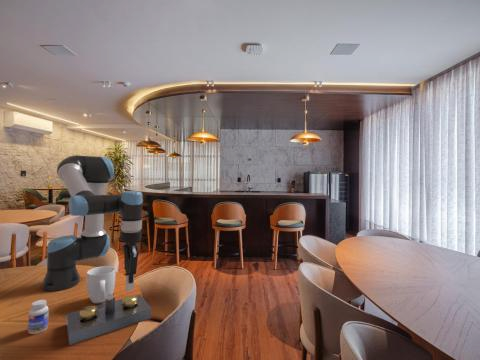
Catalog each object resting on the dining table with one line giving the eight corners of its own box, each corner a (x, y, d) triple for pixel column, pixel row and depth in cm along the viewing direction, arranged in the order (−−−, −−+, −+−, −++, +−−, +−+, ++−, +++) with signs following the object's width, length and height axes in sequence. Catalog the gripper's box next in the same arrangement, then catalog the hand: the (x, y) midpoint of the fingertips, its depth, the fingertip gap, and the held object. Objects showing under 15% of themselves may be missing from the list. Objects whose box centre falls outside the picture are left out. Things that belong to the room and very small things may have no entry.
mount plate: (66, 324, 90) (66, 313, 90) (140, 303, 106) (140, 294, 106) (69, 345, 79) (69, 333, 79) (150, 318, 95) (151, 308, 95)
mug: (117, 306, 103) (118, 275, 103) (86, 313, 97) (87, 280, 97) (113, 291, 116) (113, 264, 116) (85, 297, 110) (86, 268, 110)
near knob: (78, 325, 88) (79, 308, 88) (95, 320, 92) (95, 304, 92) (80, 332, 84) (80, 315, 84) (97, 327, 88) (97, 310, 88)
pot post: (104, 310, 93) (104, 294, 93) (113, 307, 95) (114, 292, 94) (106, 314, 90) (106, 297, 90) (115, 311, 92) (115, 295, 92)
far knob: (120, 312, 97) (121, 297, 97) (134, 308, 100) (135, 293, 100) (124, 319, 93) (124, 303, 93) (138, 314, 96) (138, 299, 96)
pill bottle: (24, 335, 83) (25, 307, 83) (33, 326, 88) (33, 299, 88) (43, 333, 85) (44, 305, 85) (51, 324, 90) (51, 297, 90)
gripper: (117, 228, 99) (115, 286, 100) (125, 235, 89) (123, 299, 89) (136, 226, 104) (135, 281, 104) (146, 232, 94) (144, 294, 94)
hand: (129, 289), depth 97 cm, fingers closed
